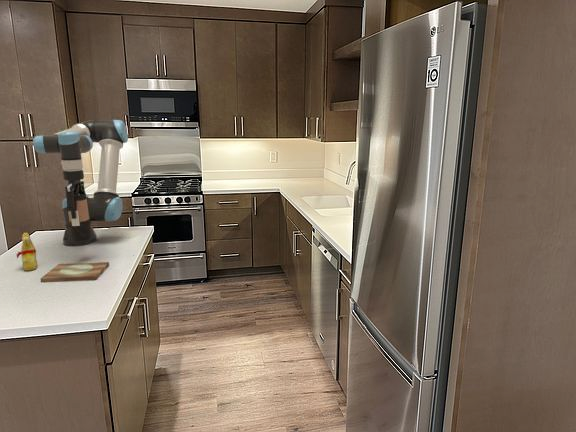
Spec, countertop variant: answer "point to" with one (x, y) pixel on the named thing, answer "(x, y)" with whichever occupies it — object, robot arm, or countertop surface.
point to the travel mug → (81, 220)
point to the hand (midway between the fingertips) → (79, 223)
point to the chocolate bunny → (28, 253)
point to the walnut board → (75, 272)
